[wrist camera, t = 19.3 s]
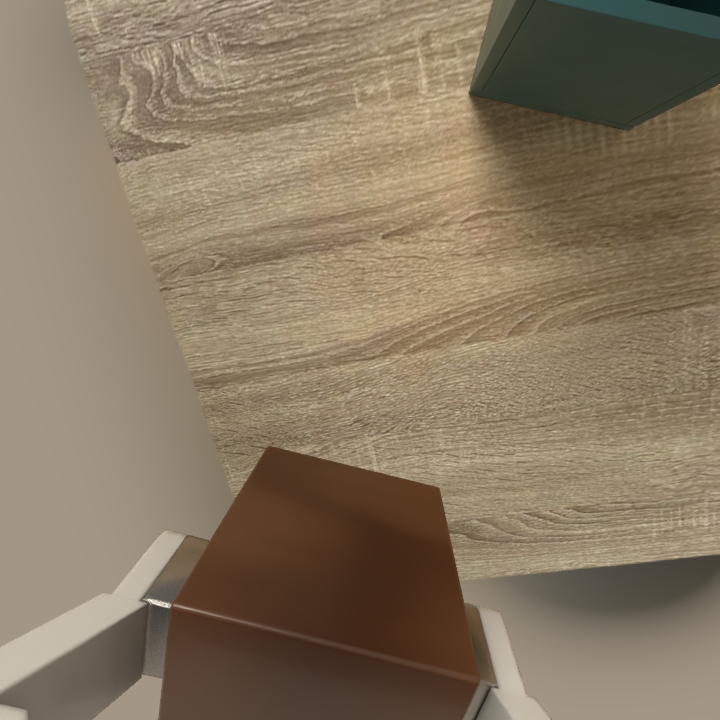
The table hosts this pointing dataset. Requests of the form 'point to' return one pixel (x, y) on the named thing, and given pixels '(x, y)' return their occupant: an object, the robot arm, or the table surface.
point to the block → (322, 604)
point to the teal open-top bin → (599, 56)
